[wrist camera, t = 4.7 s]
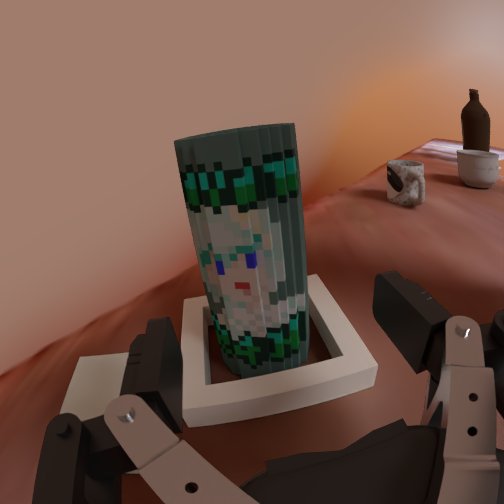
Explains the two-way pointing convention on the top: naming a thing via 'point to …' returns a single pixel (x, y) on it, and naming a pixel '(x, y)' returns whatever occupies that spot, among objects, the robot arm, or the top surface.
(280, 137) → the can
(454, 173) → the top surface
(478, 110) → the olive oil
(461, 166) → the teacup
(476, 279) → the top surface
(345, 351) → the well rim
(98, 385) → the white rectangular plate
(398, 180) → the mug
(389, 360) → the top surface
